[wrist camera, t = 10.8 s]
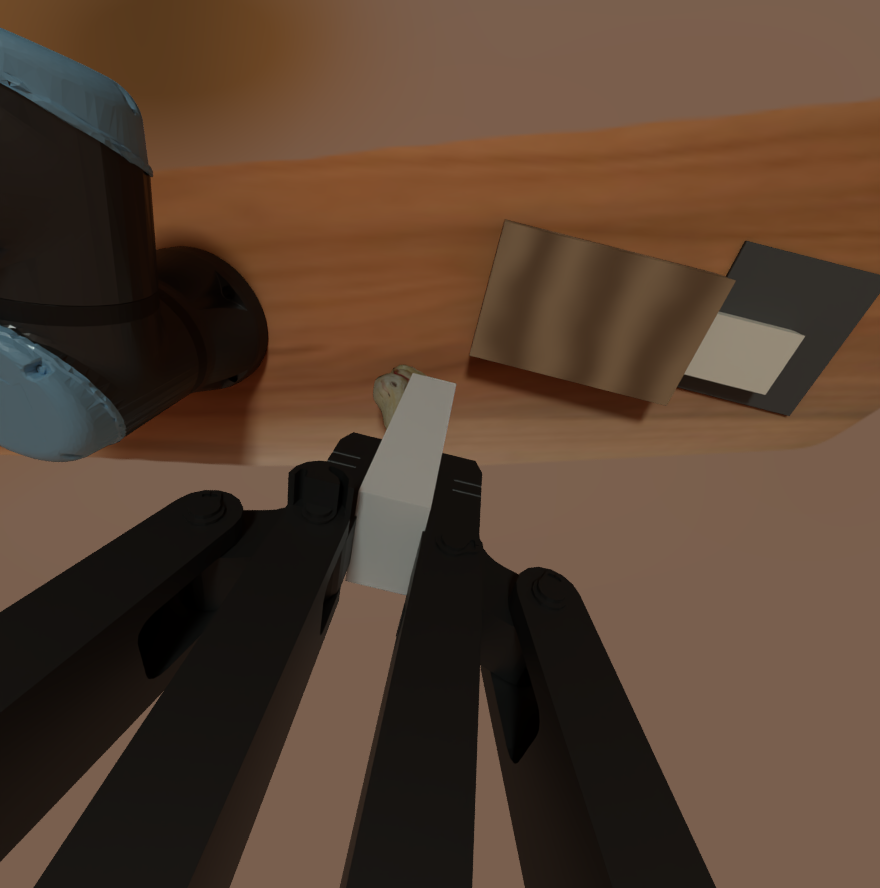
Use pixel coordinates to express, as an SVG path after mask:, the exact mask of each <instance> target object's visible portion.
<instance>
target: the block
mask: <svg viewBox="0 0 880 888" xmlns="http://www.w3.org/2000/svg"><path fill="white" fill-rule="evenodd" d="M804 337H805V336H804V335H802V334H799V333H797V332H795V331H793V330H790V329H786V328H782V327H778V326H774V325H770V324H766V323H762V322H758V321H754V320H750V319H746V318H742V317H738V316H735V315H731V314H727V313H723V312H718V314H717V316H716V317H715V319H714V321H713V323H712V325H711V326H710V328H709V330H708V332H707V334H706V335H705V337H704V339H703V341H702V343H701V344H700V346H699V348H698V350H697V352H696V353H695V355H694V357H693V359H692V361H691V362H690V364H689V366H688V368H687V370H686V371H685V373H684V374H685V375H689V376H693V377H697V378H701V379H705V380H709V381H713V382H716V383H720V384H724V385H728V386H732V387H736V388H740V389H744V390H748V391H752V392H756V393H760V394H764V395H766V393H767V392H768V390H769V389H770V387H771V386H772V384H773V383H774V381H775V380H776V379H777V377H778V376H779V374H780V373H781V371H782V370H783V368H784V367H785V365H786V364H787V362H788V361H789V359H790V358H791V356H792V355H793V354H794V352H795V351H796V349H797V348H798V346H799V345H800V343H801V342H802V340H803V339H804Z"/></svg>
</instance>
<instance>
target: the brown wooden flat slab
mask: <svg viewBox="0 0 880 888" xmlns="http://www.w3.org/2000/svg"><path fill="white" fill-rule="evenodd" d="M735 281H736V280H733V279H730V278H727V277H725V276H722V275H719V274H717V273H713V272H709V271H705V270H701V269H697V268H693V267H690V266H686V265H682V264H678V263H674V262H670V261H666V260H662V259H658V258H654V257H650V256H646V255H643V254H639V253H635V252H631V251H627V250H623V249H619V248H615V247H611V246H607V245H603V244H599V243H596V242H592V241H588V240H584V239H580V238H576V237H572V236H568V235H564V234H560V233H556V232H552V231H549V230H545V229H541V228H537V227H533V226H529V225H525V224H521V223H517V222H513V221H509V220H505V221H504V225H503V229H502V232H501V236H500V240H499V244H498V248H497V251H496V255H495V259H494V263H493V267H492V270H491V274H490V278H489V282H488V285H487V289H486V293H485V297H484V301H483V304H482V308H481V312H480V316H479V320H478V323H477V327H476V331H475V335H474V339H473V342H472V347H471V351H470V356H474V357H478V358H481V359H485V360H489V361H493V362H497V363H501V364H505V365H509V366H513V367H516V368H520V369H524V370H528V371H532V372H536V373H540V374H544V375H548V376H552V377H555V378H559V379H563V380H567V381H571V382H575V383H579V384H583V385H587V386H591V387H594V388H598V389H602V390H606V391H610V392H614V393H618V394H622V395H626V396H630V397H633V398H637V399H641V400H645V401H649V402H653V403H657V404H661V405H665V406H667V404H668V402H669V400H670V398H671V397H672V395H673V393H674V391H675V389H676V388H677V386H678V384H679V382H680V380H681V379H682V377H683V375H684V373H685V371H686V370H687V368H688V366H689V364H690V362H691V361H692V359H693V357H694V355H695V353H696V352H697V350H698V348H699V346H700V344H701V343H702V341H703V339H704V337H705V335H706V334H707V332H708V330H709V328H710V326H711V325H712V323H713V321H714V319H715V317H716V316H717V314H718V312H719V310H720V308H721V307H722V305H723V303H724V301H725V299H726V298H727V296H728V294H729V292H730V290H731V289H732V287H733V285H734V283H735Z"/></svg>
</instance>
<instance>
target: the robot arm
mask: <svg viewBox="0 0 880 888" xmlns="http://www.w3.org/2000/svg"><path fill="white" fill-rule="evenodd" d="M150 177H153V171H152V169H151V167H150V166H149V165H148V158H147V150H146V143H145V135H144V127H143V120H142V116H141V113H140V110H139V108H138V106H137V104H136V103H135V101H134V100H133V98H132V97H131V96H130V95H129V93H128V92H127V91H125V89H124V88H122V87H121V86H120V85H119V84H118V83H116V82H115V81H113V80H111V79H110V78H108V77H106V76H104V75H102V74H101V73H99V72H97V71H95V70H93V69H91V68H89V67H86V66H85V65H82V64H80V63H78V62H76V61H74V60H72V59H69V58H67V57H65V56H63V55H61V54H58V53H57V52H54V51H52V50H50V49H48V48H45V47H43V46H41V45H39V44H37V43H34V42H32V41H30V40H28V39H25V38H23V37H21V36H18V35H16V34H14V33H12V32H9V31H7V30H5V29H2V28H0V446H2V447H4V448H6V449H8V450H10V451H13V452H16V453H18V454H21V455H24V456H27V457H30V458H34V459H38V460H44V461H52V462H68V461H74V460H78V459H81V458H84V457H87V456H89V455H91V454H92V453H94V452H96V451H98V450H100V449H102V448H104V447H106V446H107V445H111V444H115V443H117V442H119V441H120V440H121V439H123V438H124V437H125V436H127V435H128V434H130V433H131V432H133V431H134V430H136V429H137V428H139V427H140V426H142V425H143V424H145V423H146V422H148V421H149V420H151V419H152V418H154V417H155V416H157V415H158V414H160V413H161V412H163V411H164V410H166V409H167V408H169V407H170V406H172V405H173V404H175V403H176V402H178V401H179V400H181V399H183V398H184V397H186V396H187V395H189V394H190V393H193V392H201V391H208V390H216V389H223V388H227V387H230V386H232V385H235V384H237V383H239V382H240V381H242V380H243V379H245V378H246V377H248V376H249V375H250V374H252V373H253V372H254V371H255V370H256V369H257V368H258V366H259V365H260V363H261V362H262V360H263V358H264V355H265V352H266V348H267V340H268V333H267V324H266V320H265V316H264V313H263V310H262V307H261V305H260V303H259V300H258V299H257V297H256V295H255V293H254V292H253V290H252V289H251V287H250V286H249V284H248V283H247V282H246V281H245V279H244V278H243V277H242V276H241V275H240V274H239V273H238V272H237V271H236V270H235V269H234V268H233V267H231V266H230V265H229V264H228V263H226V262H225V261H223V260H222V259H220V258H219V257H217V256H215V255H213V254H211V253H209V252H206V251H204V250H201V249H197V248H193V247H184V246H179V247H170V248H164V249H158V250H156V246H155V233H154V219H153V206H152V192H151V179H150ZM455 388H456V384H455V383H451V382H447V381H443V380H439V379H435V378H431V377H427V376H423V375H419V374H415V373H413V374H412V376H411V378H410V380H409V382H408V385H407V387H406V389H405V391H404V393H403V395H402V398H401V400H400V402H399V404H398V406H397V408H396V411H395V413H394V415H393V417H392V419H391V422H390V424H389V426H388V428H387V430H386V432H385V435H384V437H383V439H378V438H374V437H370V436H366V435H362V434H358V433H354V432H353V433H351V434H349V435H348V436H346V437H344V438H342V439H341V440H340V441H339V442H338V444H337V446H336V447H335V449H334V450H333V453H332V454H331V455H330V457H329V458H328V461H312V462H306V463H303V464H300V465H298V466H296V467H295V468H294V469H292V470H291V471H290V472H289V478H288V505H287V506H286V507H285V508H281V509H277V510H243V506H242V504H241V502H240V500H239V499H238V498H236V497H235V496H233V495H232V494H230V493H226V492H223V491H217V490H214V491H213V490H204V491H200V492H194V493H190V494H188V495H186V496H184V497H181V498H179V499H177V500H176V501H174V502H172V503H171V504H169V505H168V506H166V507H165V508H163V509H162V510H160V511H158V512H157V513H155V514H154V515H152V516H150V517H149V518H147V519H146V520H144V521H143V522H141V523H140V524H138V525H136V526H135V527H133V528H132V529H130V530H128V531H127V532H125V533H124V534H122V535H121V536H119V537H117V538H116V539H114V540H113V541H111V542H110V543H108V544H107V545H105V546H103V547H102V548H100V549H99V550H97V551H96V552H94V553H92V554H91V555H89V556H88V557H86V558H85V559H83V560H81V561H80V562H78V563H77V564H75V565H74V566H72V567H71V568H69V569H67V570H66V571H64V572H63V573H61V574H60V575H58V576H56V577H55V578H53V579H52V580H50V581H48V582H47V583H46V584H44V585H42V586H41V587H39V588H38V589H36V590H34V591H33V592H32V593H30V594H28V595H27V596H25V597H23V598H22V599H20V600H19V601H17V602H16V603H14V604H12V605H11V606H9V607H8V608H6V609H5V610H3V611H2V612H0V861H2V859H3V858H4V857H5V856H6V855H7V854H8V853H9V852H10V851H11V850H12V849H13V848H14V847H15V846H16V844H18V843H19V842H20V841H21V840H22V839H23V838H24V836H25V835H26V834H27V833H28V832H29V831H30V830H31V829H32V828H33V827H34V826H35V825H36V824H37V823H38V822H39V821H40V820H41V819H42V818H43V816H45V814H46V813H47V812H48V811H49V810H50V809H51V808H52V807H53V806H54V805H55V804H56V803H57V802H58V801H59V800H60V799H61V798H62V797H63V796H64V795H65V794H66V792H68V790H69V789H70V788H71V787H72V786H73V785H74V784H75V783H76V782H77V781H78V780H79V779H80V778H81V777H82V776H83V775H84V774H85V773H86V772H87V771H88V769H89V768H90V767H91V766H92V765H93V764H94V763H95V762H96V761H97V760H98V759H99V758H100V757H101V756H102V755H103V754H104V753H105V752H106V750H108V749H109V748H110V747H111V745H112V744H113V743H114V742H115V741H116V740H117V739H118V738H119V737H120V736H121V735H122V734H123V733H124V732H125V731H126V730H127V729H128V728H129V727H130V725H132V724H133V722H134V721H135V720H136V719H137V718H138V717H139V716H140V715H141V714H142V713H143V712H144V711H145V710H146V709H147V708H148V707H149V706H150V705H151V704H152V702H154V701H155V699H156V698H157V697H158V696H159V695H160V694H161V693H162V692H163V691H164V692H163V693H162V695H161V696H160V698H159V699H158V701H157V702H156V704H155V705H154V707H153V708H152V710H151V711H150V713H149V714H148V716H147V718H146V719H145V720H144V722H143V723H142V725H141V726H140V728H139V729H138V731H137V733H136V734H135V735H134V737H133V738H132V740H131V741H130V743H129V744H128V746H127V747H126V749H125V750H124V752H123V753H122V755H121V756H120V758H119V759H118V761H117V763H116V764H115V765H114V767H113V769H112V770H111V771H110V773H109V774H108V776H107V778H106V779H105V781H104V782H103V784H102V785H101V787H100V788H99V790H98V791H97V793H96V794H95V796H94V797H93V799H92V800H91V802H90V803H89V805H88V806H87V808H86V809H85V811H84V812H83V814H82V815H81V817H80V818H79V820H78V821H77V823H76V824H75V826H74V827H73V829H72V830H71V832H70V833H69V835H68V836H67V838H66V839H65V841H64V842H63V844H62V845H61V847H60V848H59V850H58V852H57V853H56V854H55V856H54V857H53V859H52V860H51V862H50V863H49V865H48V866H47V868H46V870H45V871H44V873H43V874H42V876H41V877H40V879H39V880H38V882H37V883H36V885H35V886H34V888H229V887H230V885H231V882H232V880H233V877H234V874H235V871H236V869H237V866H238V864H239V861H240V859H241V856H242V853H243V851H244V848H245V845H246V843H247V840H248V838H249V835H250V832H251V830H252V827H253V824H254V822H255V819H256V817H257V814H258V811H259V809H260V805H261V803H262V801H263V798H264V795H265V793H266V790H267V787H268V785H269V782H270V780H271V777H272V775H273V772H274V769H275V767H276V764H277V761H278V759H279V756H280V753H281V751H282V748H283V746H284V743H285V740H286V738H287V735H288V732H289V730H290V727H291V724H292V722H293V719H294V717H295V714H296V711H297V709H298V706H299V704H300V701H301V698H302V696H303V693H304V691H305V688H306V685H307V683H308V680H309V677H310V675H311V672H312V669H313V667H314V664H315V662H316V659H317V656H318V654H319V651H320V649H321V646H322V643H323V641H324V638H325V635H326V633H327V630H328V627H329V625H330V622H331V620H332V617H333V614H334V612H335V609H336V607H337V604H338V601H339V595H340V587H341V584H342V582H343V579H344V576H345V574H346V581H349V582H353V583H357V584H361V585H365V586H370V587H374V588H378V589H382V590H386V591H390V592H394V593H399V594H403V595H406V600H405V604H404V608H403V611H402V615H401V619H400V622H399V626H398V630H397V634H396V636H397V637H396V641H395V646H394V650H393V655H392V659H391V663H390V668H389V673H388V677H387V681H386V686H385V690H384V694H383V699H382V703H381V708H380V712H379V716H378V721H377V725H376V730H375V734H374V739H373V743H372V747H371V752H370V756H369V761H368V765H367V769H366V774H365V778H364V783H363V787H362V791H361V796H360V800H359V805H358V809H357V813H356V818H355V822H354V827H353V831H352V836H351V840H350V845H349V849H348V853H347V858H346V862H345V867H344V871H343V875H342V880H341V884H340V888H472V875H473V846H474V819H475V792H476V763H477V736H478V735H477V734H478V708H479V706H478V705H479V681H480V665H481V672H482V677H483V682H484V687H485V692H486V697H487V702H488V707H489V712H490V717H491V722H492V727H493V731H494V737H495V742H496V746H497V751H498V756H499V761H500V766H501V771H502V776H503V781H504V786H505V791H506V796H507V801H508V805H509V811H510V816H511V820H512V825H513V831H514V836H515V840H516V845H517V851H518V855H519V860H520V865H521V870H522V875H523V880H524V885H525V888H716V886H715V884H714V882H713V880H712V878H711V876H710V874H709V871H708V869H707V867H706V865H705V863H704V861H703V858H702V856H701V854H700V852H699V850H698V848H697V846H696V843H695V841H694V839H693V837H692V835H691V833H690V831H689V828H688V826H687V824H686V822H685V820H684V818H683V816H682V813H681V811H680V809H679V807H678V805H677V803H676V801H675V798H674V796H673V794H672V792H671V790H670V788H669V786H668V783H667V781H666V779H665V777H664V775H663V773H662V770H661V768H660V766H659V764H658V762H657V760H656V758H655V755H654V753H653V751H652V749H651V747H650V745H649V743H648V740H647V738H646V736H645V734H644V732H643V730H642V727H641V725H640V723H639V721H638V719H637V717H636V715H635V713H634V710H633V708H632V706H631V704H630V702H629V700H628V697H627V695H626V693H625V691H624V689H623V687H622V684H621V683H620V680H619V678H618V676H617V674H616V672H615V669H614V667H613V665H612V663H611V661H610V659H609V657H608V654H607V652H606V650H605V648H604V646H603V644H602V642H601V639H600V637H599V635H598V633H597V631H596V629H595V627H594V625H593V622H592V620H591V618H590V616H589V614H588V612H587V609H586V607H585V605H584V603H583V601H582V599H581V596H580V595H579V593H578V592H577V590H576V589H575V587H574V586H573V584H572V583H570V582H569V581H568V580H567V579H566V578H565V577H563V576H562V575H561V574H558V573H557V572H555V571H552V570H551V569H546V568H541V567H534V568H528V569H526V570H524V571H523V572H521V573H520V574H517V573H515V572H513V571H511V570H509V569H507V568H505V567H503V566H502V565H500V564H498V563H497V562H495V561H494V560H493V559H492V558H491V557H490V556H489V555H488V554H487V553H486V551H485V550H484V549H483V544H482V542H481V541H480V538H479V527H480V507H481V484H482V472H481V470H480V469H479V467H478V465H477V463H476V461H473V460H469V459H465V458H461V457H457V456H453V455H449V454H444V453H442V451H443V447H444V442H445V437H446V432H447V427H448V422H449V417H450V412H451V408H452V403H453V398H454V393H455ZM346 572H347V573H346Z"/></svg>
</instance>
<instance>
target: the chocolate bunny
mask: <svg viewBox="0 0 880 888" xmlns="http://www.w3.org/2000/svg"><path fill="white" fill-rule="evenodd" d="M413 373H415V374H419V375H423V376H426V375H425V374H424V373H422V372H420V371H418V370H416V369H415V368H413V367H410V366H407V365H399V366H398V367H396V368H393V371H392V372H391V373H389V374H385V375H382V376H380V377H378V378H377V379H376V381H375V384H374V390H373V397H374V400H375V402H376V404H377V405H378V407H379V408H380V410H381V412H382V415H383V420H384V425H385V427H386V429H387V428H388V426H389V424H390V422H391V419H392V417H393V415H394V413H395V411H396V408H397V406H398V404H399V402H400V400H401V398H402V395H403V393H404V391H405V389H406V387H407V385H408V382H409V380H410V378H411V376H412V374H413Z"/></svg>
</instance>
